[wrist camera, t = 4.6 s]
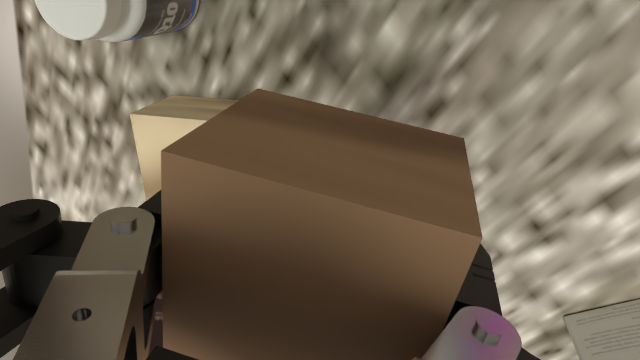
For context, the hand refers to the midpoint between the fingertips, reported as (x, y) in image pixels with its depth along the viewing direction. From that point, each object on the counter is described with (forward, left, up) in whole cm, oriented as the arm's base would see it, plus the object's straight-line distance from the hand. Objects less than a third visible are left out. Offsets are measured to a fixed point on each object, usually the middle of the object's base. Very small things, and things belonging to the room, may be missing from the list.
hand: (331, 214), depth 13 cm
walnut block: (0, 0, -1) cm, 1 cm away
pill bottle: (-3, -15, -16) cm, 22 cm away
